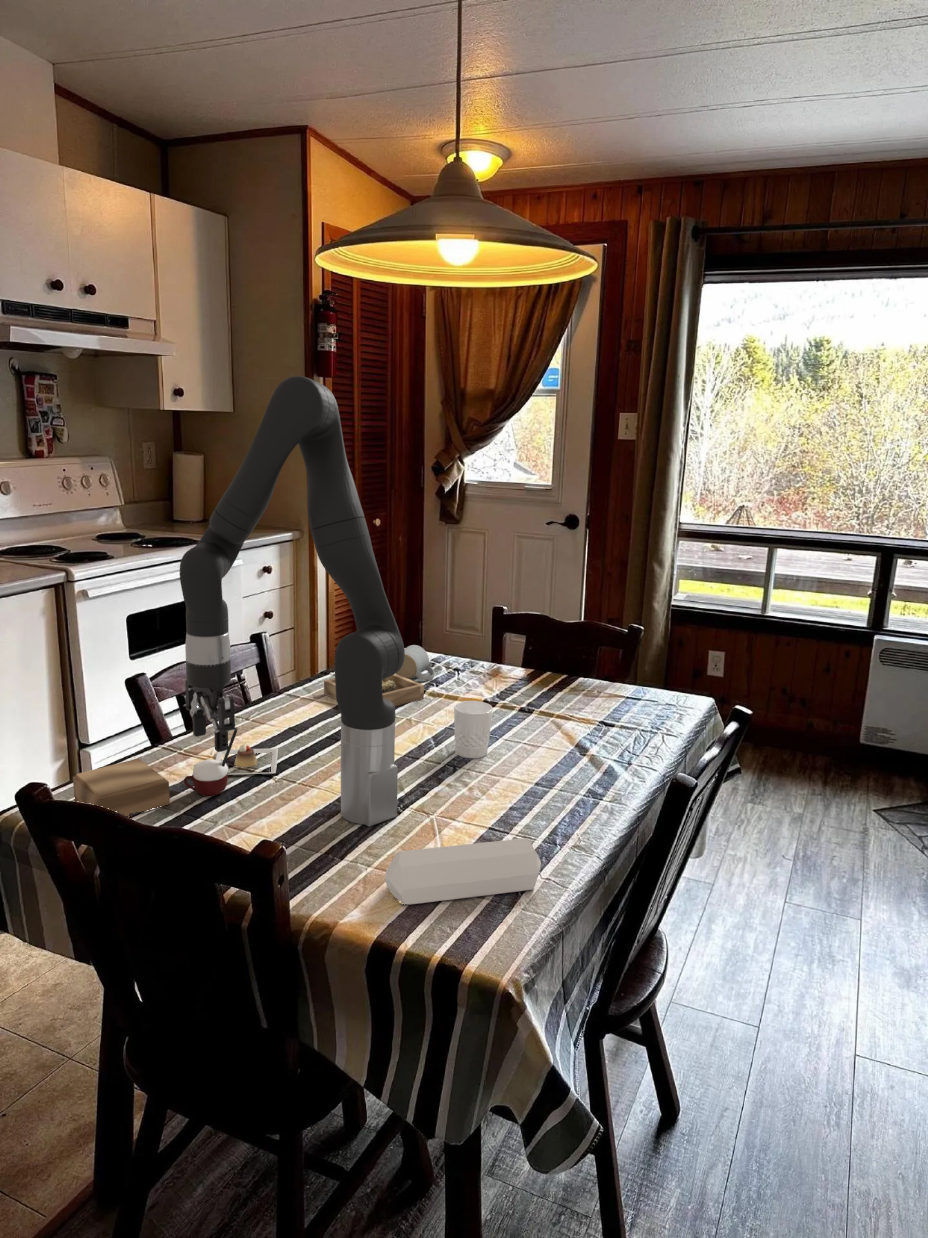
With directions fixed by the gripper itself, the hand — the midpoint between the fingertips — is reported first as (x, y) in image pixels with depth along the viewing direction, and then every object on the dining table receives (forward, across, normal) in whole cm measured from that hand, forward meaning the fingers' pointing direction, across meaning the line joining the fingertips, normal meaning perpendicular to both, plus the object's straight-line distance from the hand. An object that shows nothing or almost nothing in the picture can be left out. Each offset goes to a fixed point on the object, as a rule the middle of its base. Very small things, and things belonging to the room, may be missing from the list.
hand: (210, 742), depth 151 cm
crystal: (+9, -52, -15) cm, 55 cm away
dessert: (+10, +7, -11) cm, 16 cm away
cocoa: (+10, -1, 0) cm, 10 cm away
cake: (+10, +25, -56) cm, 62 cm away
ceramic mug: (+10, +30, -73) cm, 80 cm away
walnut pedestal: (+10, +5, +14) cm, 18 cm away
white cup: (+9, -16, -50) cm, 53 cm away
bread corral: (+10, +24, -54) cm, 60 cm away
